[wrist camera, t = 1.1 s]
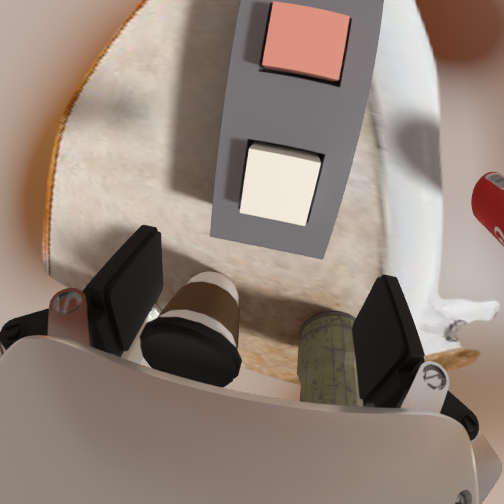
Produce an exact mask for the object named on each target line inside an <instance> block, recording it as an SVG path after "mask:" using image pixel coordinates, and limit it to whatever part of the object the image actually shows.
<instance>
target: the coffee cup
mask: <svg viewBox="0 0 504 504" xmlns="http://www.w3.org/2000/svg"><path fill="white" fill-rule="evenodd" d="M238 301H239V296H238V293H237V290H236V287H235V285H234V284H233V282H232V281H231V280H230V279H229V278H228V277H226V276H224V275H222V274H221V273H217V272H213V271H208V272H202V273H199V274H197V275H196V276H194V277H192V278H191V279H190V280H189V281H188V283H187V284H186V285H185V286H183V287H181V289H180V290H179V291H178V292H177V293H176V295H175V296H174V297H173V298H172V299H171V301H170V302H169V303H168V304H167V305H166V307H165V308H164V309H163V310H162V311H161V313H160V314H159V316H158V317H157V318H156V319H154V320H152V321H149V322H147V323H146V325H145V326H144V328H143V331H142V333H141V335H140V337H139V338H140V342H141V343H140V347H141V352H142V355H143V357H144V359H145V360H146V361H147V363H148V364H149V365H150V366H151V368H153V369H156V370H159V371H162V372H165V373H169V374H172V375H175V376H179V377H182V378H186V379H190V380H193V381H197V382H201V383H205V384H209V385H213V386H218V387H222V388H223V387H225V386H226V385H228V384H229V383H230V382H232V381H233V379H234V378H236V377H237V376H238V374H239V370H240V366H241V362H242V360H241V357H240V355H239V353H238V350H237V348H238V334H239V311H240V310H239V307H238Z"/></svg>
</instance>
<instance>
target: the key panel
mask: <svg viewBox="0 0 504 504" xmlns="http://www.w3.org/2000/svg"><path fill="white" fill-rule="evenodd" d="M273 1H275V2H283V3H290V4H297V5H302V6H308V7H313V8H318V9H323V10H327V11H331V12H336V13H340V14H343V15H347V16H350V18H349V24H348V31H347V37H346V43H345V49H344V54H343V60H342V65H341V71H340V76H339V80H338V81H334V82H331V81H327V80H323V79H318V78H314V77H309V76H305V75H300V74H294V73H289V72H283V71H277V70H271V69H266V68H265V67H264V66H263V65H262V63H263V57H264V51H265V45H266V39H267V34H268V28H269V22H270V17H271V11H272V6H273ZM383 2H384V0H241V1H240V6H239V11H238V17H237V22H236V28H235V34H234V40H233V45H232V52H231V58H230V64H229V71H228V77H227V84H226V91H225V99H224V106H223V114H222V122H221V130H220V138H219V147H218V155H217V165H216V174H215V184H214V195H213V206H212V217H211V230H210V237H215V238H220V239H225V240H230V241H235V242H240V243H245V244H250V245H255V246H260V247H265V248H270V249H275V250H279V251H284V252H289V253H294V254H299V255H304V256H308V257H313V258H318V259H323V258H324V255H325V252H326V249H327V246H328V243H329V240H330V237H331V233H332V230H333V227H334V224H335V221H336V218H337V214H338V211H339V208H340V204H341V201H342V198H343V194H344V191H345V187H346V184H347V180H348V177H349V173H350V169H351V166H352V162H353V158H354V154H355V150H356V146H357V142H358V138H359V134H360V130H361V126H362V122H363V117H364V113H365V108H366V104H367V99H368V94H369V90H370V85H371V80H372V74H373V69H374V64H375V58H376V52H377V46H378V40H379V33H380V26H381V19H382V11H383ZM255 141H256V142H262V143H267V144H273V145H278V146H283V147H288V148H293V149H298V150H302V151H307V152H311V153H316V154H318V156H319V159H320V162H321V165H320V169H319V173H318V177H317V181H316V185H315V190H314V194H313V197H312V201H311V205H310V209H309V213H308V217H307V221H306V224H305V226H302V225H297V224H292V223H288V222H283V221H278V220H273V219H268V218H263V217H258V216H253V215H248V214H243V213H240V207H241V200H242V193H243V186H244V179H245V172H246V165H247V159H248V152H249V148H250V147H251V146H252V144H253V143H254V142H255Z"/></svg>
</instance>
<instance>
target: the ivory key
mask: <svg viewBox="0 0 504 504" xmlns="http://www.w3.org/2000/svg"><path fill="white" fill-rule="evenodd" d="M320 165H321V162H320V159H319V156H318V154H316V153H311V152H307V151H302V150H298V149H293V148H288V147H283V146H278V145H273V144H267V143H262V142H256V141H255V142H254V143H253V144H252V146H251V147H250V148H249V152H248V159H247V165H246V172H245V179H244V186H243V193H242V200H241V207H240V213H243V214H248V215H253V216H258V217H263V218H268V219H273V220H278V221H283V222H288V223H292V224H297V225H302V226H305V224H306V221H307V217H308V213H309V209H310V205H311V201H312V197H313V194H314V190H315V185H316V181H317V177H318V173H319V169H320Z"/></svg>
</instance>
